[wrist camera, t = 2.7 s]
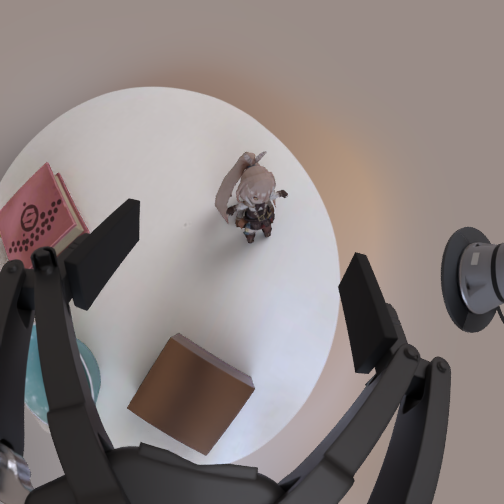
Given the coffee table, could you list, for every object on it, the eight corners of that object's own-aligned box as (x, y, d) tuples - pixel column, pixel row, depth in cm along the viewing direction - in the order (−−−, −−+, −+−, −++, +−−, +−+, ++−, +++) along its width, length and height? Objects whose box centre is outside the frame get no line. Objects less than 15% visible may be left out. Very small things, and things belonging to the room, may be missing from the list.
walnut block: (251, 377, 37) (255, 388, 31) (208, 437, 34) (206, 456, 29) (179, 332, 37) (170, 336, 31) (139, 395, 35) (126, 408, 29)
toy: (233, 258, 39) (220, 188, 26) (214, 212, 43) (198, 138, 30) (291, 237, 41) (305, 163, 27) (268, 195, 44) (270, 119, 31)
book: (8, 226, 37) (-7, 219, 32) (60, 174, 40) (47, 161, 35) (32, 288, 36) (14, 285, 31) (89, 232, 39) (75, 223, 34)
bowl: (89, 431, 32) (67, 450, 24) (27, 365, 33) (-1, 371, 25) (135, 371, 35) (114, 385, 27) (65, 300, 36) (36, 298, 28)
